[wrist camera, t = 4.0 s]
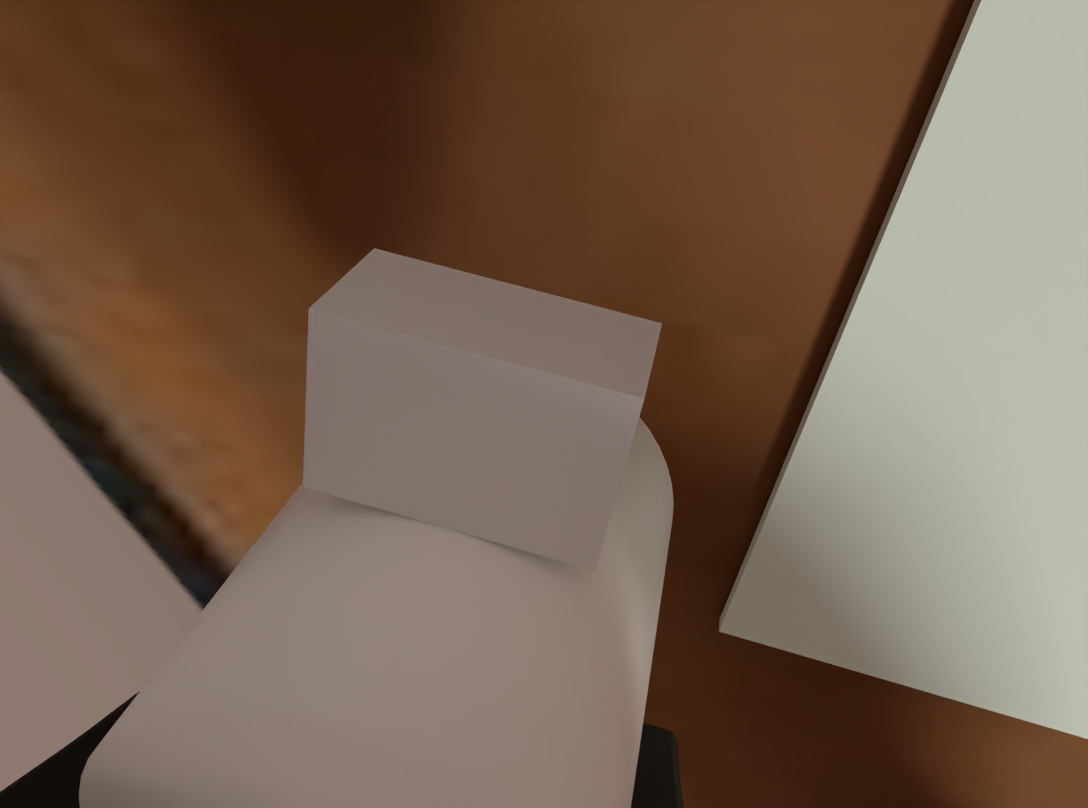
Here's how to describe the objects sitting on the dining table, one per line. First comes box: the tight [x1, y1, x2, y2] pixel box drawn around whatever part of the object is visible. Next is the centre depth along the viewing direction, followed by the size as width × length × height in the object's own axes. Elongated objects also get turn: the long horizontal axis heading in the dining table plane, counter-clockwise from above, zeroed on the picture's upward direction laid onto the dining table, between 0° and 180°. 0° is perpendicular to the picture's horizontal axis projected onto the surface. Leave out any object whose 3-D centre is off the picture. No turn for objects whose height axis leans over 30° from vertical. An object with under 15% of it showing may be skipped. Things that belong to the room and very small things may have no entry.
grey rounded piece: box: [79, 248, 674, 808], centre depth 9 cm, size 11×4×5 cm, turn 170°
